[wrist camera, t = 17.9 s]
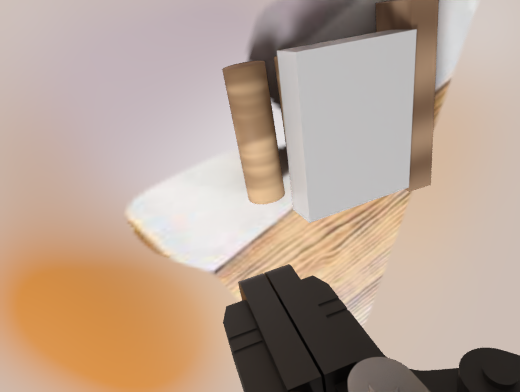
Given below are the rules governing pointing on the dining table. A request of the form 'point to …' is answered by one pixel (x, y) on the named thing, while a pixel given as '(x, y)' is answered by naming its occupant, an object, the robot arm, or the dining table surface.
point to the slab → (348, 119)
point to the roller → (255, 130)
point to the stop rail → (417, 76)
